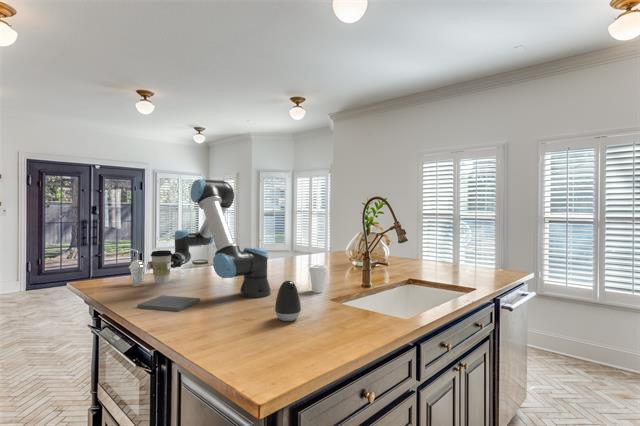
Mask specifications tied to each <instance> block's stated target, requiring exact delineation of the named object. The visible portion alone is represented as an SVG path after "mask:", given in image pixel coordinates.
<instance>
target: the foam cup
mask: <svg viewBox="0 0 640 426" xmlns="http://www.w3.org/2000/svg"><path fill="white" fill-rule="evenodd" d="M308 269H309V275H310V276H309V277H310V283H311V284H310V285H311V292H312V293H315V294H316V293H317V294H321V293H324V292H325V289H326V281H327V275H328V271H329V269H328V265H324V264H312V265H309V267H308Z"/></svg>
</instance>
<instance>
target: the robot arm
mask: <svg viewBox="0 0 640 426" xmlns="http://www.w3.org/2000/svg"><path fill="white" fill-rule="evenodd" d="M190 199H191V201H192V202H193V203H197V204H198V207H199V208H200V209H201V210H203V212H204V215H205V220H204V222H203V223H202V225H201V227H200V229H199V231H198V232H189V230H186V229H181V230H178V229H177V230H176V231H174V253H173V252H172V255H171V263H168V264H167V270H169V269H170V270H171V269H175V268H180V267H182V266H183V265H185V264H187V263H188V262H190V261H191V259H192V254H191V252H190V247H197V246H198V247H199V246H200V247H201V246H208V245H212V244H213V243H214V245H215V249H216V250H215V253H214V256H213V259H212V262H213V263H212V266H213V270H214V272H215V273H216V275H217V277H219V278H221V279H232V278H235V277H242V276H243V279H242V283H241V287H240V288H239V289H240V290H239V295H240V296H241V297H243V298H250V299H255V298H256V299H257V298H264V297H268V296H270V295H271V294H272V293H271V292H272V288H271V285H270V282H269V280H268V259H269V258H268V257H269V256H268V251H267V249H265V248H257V247H244V248H243V250H241V248H240V246H239V244H236V243H235V242H234V238H233V236H232V234H231V231H230V227H229V225H228V222H227V219H226V217H225V212H227V210H228V209H229V208H231V206H232V204H233V202H234V200H235V192H234V189H233V186H232V185H231V184H230V183H229V182H228V181H226V180H225V181H224V180H216V179H205V178H204V179H203V178H202V179H195V180H194V181H193V183H192V184H191V187H190ZM147 270H148V271H149V270H153V267H152V260H151V261H148V262H147V264H146V271H147Z"/></svg>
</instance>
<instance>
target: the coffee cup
mask: <svg viewBox="0 0 640 426" xmlns="http://www.w3.org/2000/svg"><path fill="white" fill-rule="evenodd" d="M172 254H173V252H172V251H171V250H169V249H168V250H167V249H165V250H160V249H159V250H154V251H151V254H150V257H151V261H152V267H153V269H152V273H153V279H154V283H155V284H163V283H168V282H170V281H169V278H170V273H171V269H169V270H167V264H168V263H171V255H172Z"/></svg>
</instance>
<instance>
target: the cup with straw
mask: <svg viewBox="0 0 640 426" xmlns="http://www.w3.org/2000/svg"><path fill="white" fill-rule="evenodd" d="M129 250H131V251H134V252H136V259H135V260H132V261H131V262H130V265H128V269H130V275H131V282H132V286H133V287H134V286H135V287H138V286H142V285H143V281H144V280H143V279H144V272H145V268H147V264H145V263H144V261H143V260H141V259H139V250H137V249H135V248H129Z"/></svg>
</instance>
